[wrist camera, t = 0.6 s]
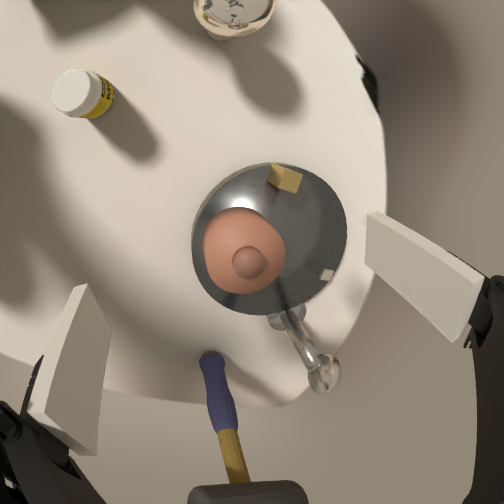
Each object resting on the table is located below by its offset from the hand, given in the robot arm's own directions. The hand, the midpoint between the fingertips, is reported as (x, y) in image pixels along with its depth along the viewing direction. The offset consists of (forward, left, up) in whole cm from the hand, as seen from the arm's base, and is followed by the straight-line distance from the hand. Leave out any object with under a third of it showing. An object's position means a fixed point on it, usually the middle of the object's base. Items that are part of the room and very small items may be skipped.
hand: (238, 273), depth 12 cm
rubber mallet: (+8, -27, -22) cm, 35 cm away
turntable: (+10, -5, -22) cm, 24 cm away
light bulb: (-4, +18, -22) cm, 28 cm away
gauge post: (+17, -16, -22) cm, 32 cm away
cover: (+5, -5, -19) cm, 20 cm away
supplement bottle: (-15, +7, -22) cm, 27 cm away
